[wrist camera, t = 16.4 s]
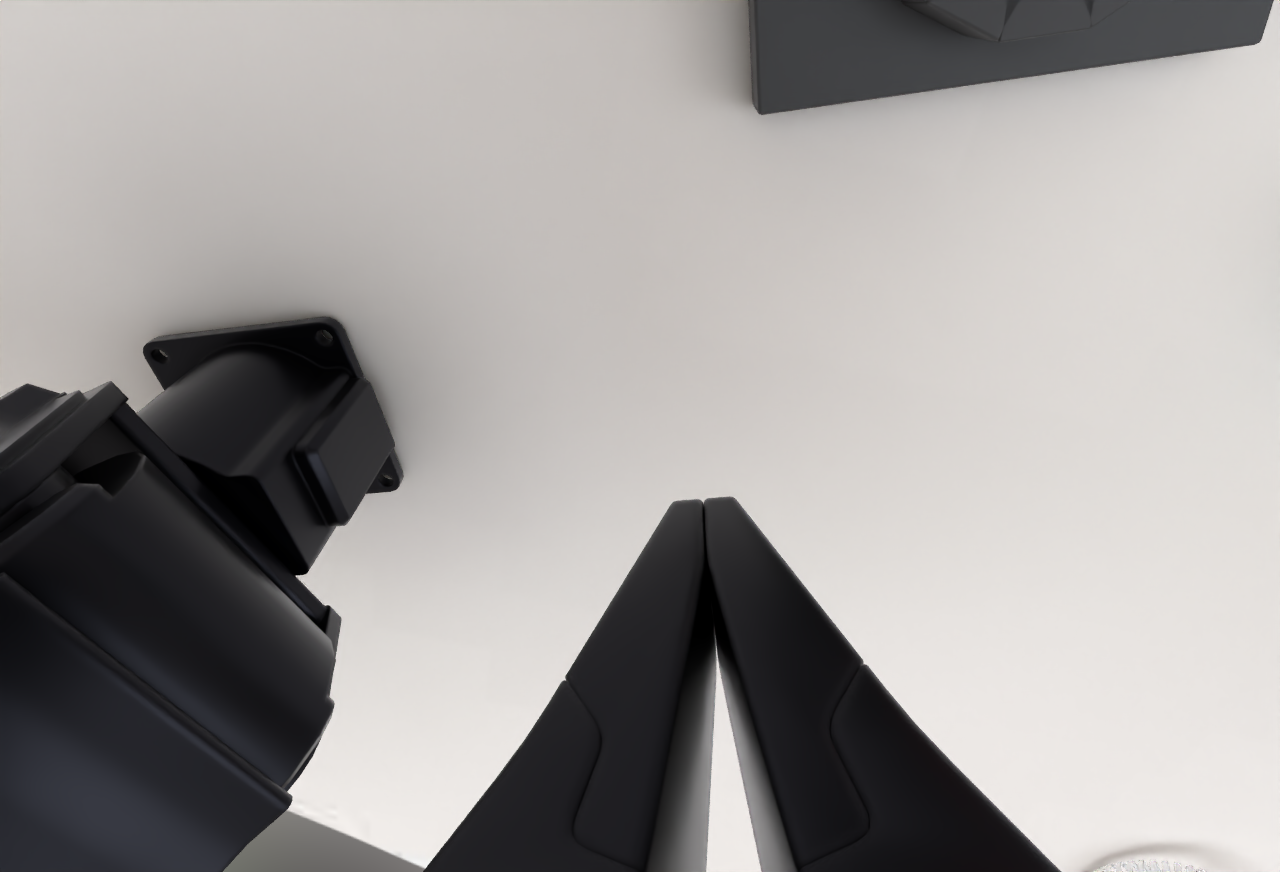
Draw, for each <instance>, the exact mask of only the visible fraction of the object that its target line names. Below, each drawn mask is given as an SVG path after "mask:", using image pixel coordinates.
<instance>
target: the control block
mask: <svg viewBox="0 0 1280 872" xmlns="http://www.w3.org/2000/svg"><path fill="white" fill-rule="evenodd" d="M1273 1H1274V0H748V5H749V29H750V52H751V76H752V99H753V105H754V107H755V109H756V110H757V112H758V113H759V114H761V115H765V114H772V113H779V112H786V111H793V110H800V109H807V108H814V107H821V106H828V105H835V104H842V103H849V102H856V101H863V100H870V99H877V98H884V97H891V96H898V95H905V94H912V93H919V92H926V91H933V90H940V89H947V88H954V87H961V86H968V85H975V84H982V83H989V82H996V81H1003V80H1010V79H1017V78H1024V77H1031V76H1039V75H1046V74H1053V73H1060V72H1067V71H1074V70H1081V69H1088V68H1095V67H1102V66H1109V65H1116V64H1123V63H1130V62H1137V61H1144V60H1151V59H1158V58H1165V57H1172V56H1179V55H1186V54H1193V53H1200V52H1207V51H1214V50H1221V49H1228V48H1235V47H1242V46H1249V45H1255V44H1257V43H1259V42H1260V41H1261V39H1262V36H1263V33H1264V29H1265V26H1266V23H1267V20H1268V17H1269V14H1270V10H1271V7H1272V4H1273Z"/></svg>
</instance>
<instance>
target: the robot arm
mask: <svg viewBox="0 0 1280 872" xmlns="http://www.w3.org/2000/svg"><path fill="white" fill-rule="evenodd" d="M322 330H326V331H327V332H329V333H330V334H331V336H332V338H333V339H328V338H326V337H325V336H324V335H323V334H322ZM160 350H161V351H163V352H165V354H166V355H167V356H168V357H166V356H164V355H163V354H162V353H161V352H160ZM143 354H144V356H145V359H146V360H147V362H148V364H149V365H150V367H151V369H152V370H153V372H154V374H155V375H156V377H157V379H158V380H159V382H160V384H161V385H162V387H163V389H164V390H165V391H164V392H162V393H161V394H160V395H159V396H157V397H156V398H155V399H154V400H152V401H151V402H150V403H149V404H147V405H146V406H145V407H144V408H142V409H141V410H140V411H139V412H137V413H136V412H135V411H134V410H133V409H132V408H131V407H130V406H129V405H128V404H127V403H126V401H127V400H128V398H127V397H126V396H125V395H124V394H123V393H122V392H121V390H120V389H119V388H118V387H117V386H116V385H115V384H114V383H113V382H112V381H109V382H107V383H105V384H103V385H100V386H98V387H96V388H94V389H92V390H90V391H88V392H86V393H83V394H82V393H81V392H80V391H79V390H78V391H75V392H73V393H70V394H68V395H67V394H66V393H65V392H64V393H61V394H59V393H56V392H53V391H50V390H46V389H43V388H40V387H37V386H33V385H30V384H25V385H23V386H21V387H19V388H17V389H15V390H13V391H11V392H9V393H7V394H6V395H4V396H2V397H1V398H0V872H223V871H224V869H225V868H226V867H227V866H228V865H229V864H230V863H231V862H232V861H233V860H234V858H235V857H236V856H237V855H238V854H239V853H240V852H241V851H242V850H243V849H244V847H245V846H246V845H247V844H248V843H249V842H250V841H252V840H253V839H254V838H255V837H256V836H257V835H259V834H260V833H261V832H262V831H263V830H264V829H265V828H267V827H268V826H269V825H270V824H271V823H272V822H274V820H276V819H277V818H278V817H279V816H280V815H282V813H284V812H285V811H286V810H287V809H288V808H289V806H290V805H291V802H292V796H291V795H290V794H289V793H288V792H287V791H288V790H289V789H290V787H291V786H292V785H293V784H294V782H295V781H296V780H297V779H298V778H299V776H300V775H301V774H302V772H303V770H304V769H305V767H306V766H307V764H308V763H309V761H310V760H311V758H312V756H313V754H314V752H315V750H316V748H317V746H318V744H319V742H320V740H321V736H322V734H323V733H324V731H325V729H326V727H327V725H328V723H329V721H330V719H331V717H332V713H333V709H334V701H333V700H332V699H331V698H330V697H329V695H330V689H331V683H332V676H333V671H334V666H335V662H336V659H335V657H336V651H337V645H338V638H339V632H340V626H341V617H340V616H339V615H338V614H337V613H336V612H335V611H334V610H333V609H332V608H331V607H330V606H329V605H327V606H324V605H323V604H322V603H321V602H320V601H319V600H318V599H317V598H316V597H315V596H314V595H313V594H312V593H311V592H310V591H309V590H308V589H307V588H306V586H305V585H304V584H303V583H302V582H301V581H300V580H299V579H298V578H297V577H296V575H304V574H307V573H308V571H309V569H310V568H311V566H312V565H313V563H314V561H315V560H316V558H317V557H318V555H319V553H320V552H321V550H322V549H323V547H324V545H325V544H326V542H327V540H328V539H329V537H330V536H331V534H332V532H333V531H334V529H335V528H336V526H344V525H346V524H347V523H348V522H349V520H350V519H351V517H352V516H353V514H354V512H355V511H356V509H357V507H358V506H359V504H360V502H361V501H362V499H363V497H364V496H365V494H368V493H380V492H391V491H394V490H396V489H397V488H398V487H399V486H400V484H401V482H402V480H403V477H404V476H403V471H402V469H401V466H400V464H399V461H398V459H397V456H396V454H395V452H394V449H393V448H394V446H395V443H394V440H393V438H392V435H391V433H390V430H389V428H388V425H387V423H386V420H385V418H384V415H383V413H382V410H381V408H380V406H379V403H378V401H377V398H376V396H375V393H374V391H373V388H372V386H371V384H370V383H369V382H368V381H367V380H366V379H365V378H364V376H363V373H362V371H361V368H360V366H359V363H358V361H357V359H356V356H355V354H354V351H353V349H352V346H351V344H350V341H349V339H348V336H347V334H346V332H345V329H344V328H343V326H342V325H341V324H340V323H339V322H338V321H337V320H335V319H332V318H330V317H320V318H311V319H303V320H295V321H286V322H278V323H269V324H261V325H252V326H244V327H236V328H227V329H219V330H210V331H202V332H193V333H185V334H177V335H168V336H160V337H157V338H154V339H153V340H151V341H150V342H148V343H147V344H146V345H145V346H144V347H143ZM383 474H384V475H388V476H390V477H391V478H392V479H388V478H386V477H384V475H383ZM715 637H716V639H715ZM716 646H717V655H718V662H719V668H720V673H721V679H722V683H723V688H724V693H725V698H726V703H727V707H728V712H729V717H730V722H731V727H732V731H733V736H734V741H735V746H736V751H737V755H738V760H739V765H740V770H741V775H742V780H743V784H744V789H745V794H746V799H747V804H748V808H749V813H750V818H751V823H752V828H753V832H754V837H755V842H756V847H757V852H758V856H759V861H760V866H761V871H762V872H1061V871H1060V870H1059V869H1058V868H1057V867H1056V866H1055V865H1054V864H1053V863H1052V862H1051V861H1050V860H1049V859H1048V858H1047V857H1046V856H1045V855H1044V854H1043V853H1042V852H1041V851H1040V850H1039V849H1038V848H1037V847H1036V846H1035V845H1034V844H1033V843H1032V842H1031V841H1030V840H1029V839H1028V838H1027V837H1026V836H1025V835H1024V834H1023V833H1022V832H1021V831H1020V830H1019V829H1018V828H1017V827H1016V826H1015V825H1014V824H1013V823H1012V822H1011V821H1010V820H1009V819H1008V818H1007V817H1006V816H1005V815H1004V814H1003V813H1002V812H1001V811H1000V810H999V809H998V808H997V807H996V806H995V805H994V804H993V803H992V802H991V801H990V800H989V799H988V798H987V797H986V796H985V795H984V794H983V793H982V792H981V791H980V790H979V789H978V788H977V787H976V786H975V785H974V784H973V783H972V782H971V781H970V780H969V779H968V778H967V777H966V776H965V775H964V774H963V773H962V772H961V771H960V770H959V769H958V768H957V767H956V766H955V765H954V764H953V763H952V762H951V761H950V760H949V759H948V757H947V756H946V755H945V754H944V753H943V752H942V751H941V750H940V749H939V748H938V747H937V746H936V745H935V744H934V743H933V742H932V741H931V740H930V739H929V737H928V736H927V735H926V734H925V733H924V732H923V731H922V730H921V729H920V728H919V727H918V726H917V725H916V724H915V723H914V721H913V720H912V719H911V718H910V717H909V715H908V714H907V713H906V712H905V711H904V710H903V708H902V707H901V706H900V705H899V704H898V702H897V701H896V700H895V699H894V698H893V696H892V695H891V694H890V693H889V692H888V691H887V689H886V688H885V687H884V686H883V684H882V683H881V682H880V681H879V679H878V678H877V677H876V675H875V674H874V673H873V672H872V670H871V669H870V668H869V667H868V666H867V665H865V664H863V659H862V658H861V657H860V656H859V654H858V653H857V652H856V651H855V649H854V648H853V647H852V646H851V644H850V643H849V642H848V640H847V639H846V638H845V637H844V635H843V634H842V633H841V632H840V630H839V629H838V628H837V627H836V625H835V624H834V623H833V621H832V620H831V619H830V618H829V616H828V615H827V614H826V613H825V611H824V610H823V609H822V608H821V606H820V605H819V604H818V602H817V601H816V600H815V599H814V597H813V596H812V595H811V594H810V592H809V591H808V590H807V589H806V587H805V586H804V585H803V584H802V582H801V581H800V580H799V578H798V577H797V576H796V575H795V573H794V572H793V571H792V570H791V568H790V567H789V566H788V565H787V563H786V562H785V561H784V559H783V558H782V557H781V556H780V554H779V553H778V552H777V551H776V549H775V548H774V547H773V546H772V544H771V543H770V542H769V540H768V539H767V538H766V537H765V535H764V534H763V533H762V532H761V530H760V529H759V528H758V527H757V525H756V524H755V523H754V521H753V520H752V519H751V518H750V516H749V515H748V514H747V513H746V511H745V510H744V509H743V508H742V506H741V505H740V504H739V502H738V501H737V500H736V499H735V498H733V497H719V498H708V499H706V500H705V502H704V505H703V502H702V501H701V500H699V499H694V500H682V501H675V502H673V503H672V504H671V505H670V507H669V509H668V510H667V512H666V513H665V515H664V517H663V518H662V520H661V522H660V523H659V525H658V526H657V528H656V530H655V531H654V533H653V535H652V536H651V538H650V539H649V541H648V543H647V544H646V546H645V548H644V549H643V551H642V552H641V554H640V556H639V557H638V559H637V561H636V562H635V564H634V566H633V567H632V569H631V570H630V572H629V574H628V575H627V577H626V579H625V580H624V582H623V583H622V585H621V587H620V588H619V590H618V592H617V593H616V595H615V596H614V598H613V600H612V601H611V603H610V605H609V606H608V608H607V609H606V611H605V613H604V614H603V616H602V618H601V619H600V621H599V623H598V624H597V626H596V627H595V629H594V631H593V632H592V634H591V636H590V637H589V639H588V640H587V642H586V644H585V645H584V647H583V649H582V650H581V652H580V653H579V655H578V657H577V658H576V660H575V662H574V663H573V665H572V666H571V668H570V670H569V671H568V673H567V675H566V677H565V678H566V681H562V682H561V684H560V685H559V687H558V689H557V690H556V692H555V694H554V695H553V697H552V699H551V700H550V702H549V704H548V705H547V707H546V708H545V710H544V711H543V713H542V714H541V716H540V717H539V719H538V720H537V722H536V723H535V725H534V727H533V728H532V730H531V731H530V733H529V734H528V736H527V737H526V739H525V740H524V742H523V743H522V744H521V746H520V747H519V748H518V750H517V751H516V752H515V754H514V755H513V756H512V758H511V759H510V760H509V762H508V763H507V764H506V766H505V767H504V768H503V770H502V771H501V772H500V774H499V775H498V776H497V778H496V779H495V780H494V782H493V783H492V784H491V786H490V787H489V788H488V789H487V791H486V792H485V793H484V795H483V796H482V797H481V798H480V800H479V801H478V802H477V803H476V805H475V806H474V807H473V809H472V810H471V811H470V812H469V814H468V815H467V816H466V818H465V819H464V820H463V821H462V823H461V824H460V825H459V826H458V828H457V829H456V830H455V832H454V833H453V834H452V835H451V837H450V838H449V839H448V841H447V842H446V843H445V844H444V846H443V847H442V848H441V849H440V851H439V852H438V853H437V855H436V856H435V857H434V858H433V860H432V861H431V862H430V864H429V865H428V866H427V867H426V869H425V870H424V871H423V872H706V862H707V843H708V824H709V805H710V785H711V766H712V747H713V728H714V709H715V689H716V660H717V659H716Z"/></svg>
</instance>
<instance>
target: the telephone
mask: <svg viewBox="0 0 1280 872" xmlns="http://www.w3.org/2000/svg"><path fill="white" fill-rule="evenodd" d="M1121 866H1123V867H1124V868H1125V870H1126V871H1127V872H1133V869H1132V866H1133V867H1134V868H1135V870H1136V871H1137V872H1144V868H1145V870H1146V872H1161V871H1160V869H1159V866H1158V864H1157V862H1156V861H1155V860H1150V868H1149V866H1148V864H1147V863H1146V861H1144V860H1139V861H1138V865H1137V864H1136V863H1135V862H1134V861H1127V864H1125V863H1124V862H1118V863H1116V865H1115V864H1109V865H1107V866H1106V867H1105V866H1104V867H1101V868H1099V869H1098V870H1095V871H1094V872H1104V871H1102V870H1105V872H1114V871H1113V870H1112V869H1111V867H1113V868H1115V870H1116V872H1123V871H1122V870H1121ZM1174 869H1175V872H1182V869H1181V864H1180V863H1174ZM1162 870H1163V872H1170V869H1169V864H1168V862H1167V861H1162ZM1185 872H1195V871H1194V868H1193V866H1189V865H1186V867H1185ZM1196 872H1206V871H1205V870H1202V869H1200V868H1199V869H1197V870H1196Z"/></svg>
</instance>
